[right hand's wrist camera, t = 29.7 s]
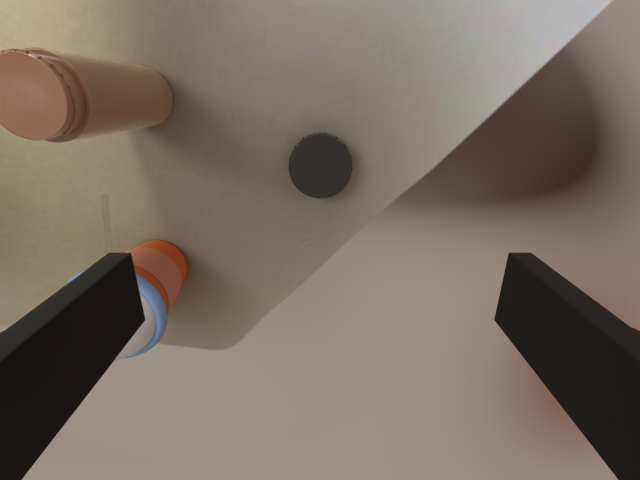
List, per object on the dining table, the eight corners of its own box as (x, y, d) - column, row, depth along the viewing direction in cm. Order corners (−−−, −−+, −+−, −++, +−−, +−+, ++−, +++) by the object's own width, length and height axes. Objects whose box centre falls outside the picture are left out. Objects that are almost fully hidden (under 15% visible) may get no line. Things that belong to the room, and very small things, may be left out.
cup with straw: (187, 309, 43) (104, 443, 27) (112, 281, 42) (-26, 405, 25) (211, 246, 40) (133, 353, 23) (130, 214, 39) (-13, 303, 22)
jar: (185, 101, 35) (93, 106, 21) (147, 137, 36) (36, 164, 22) (142, 52, 33) (11, 20, 19) (104, 91, 34) (-46, 88, 20)
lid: (283, 139, 36) (281, 141, 34) (345, 126, 36) (346, 127, 34) (297, 198, 38) (296, 204, 37) (355, 187, 38) (357, 191, 36)
